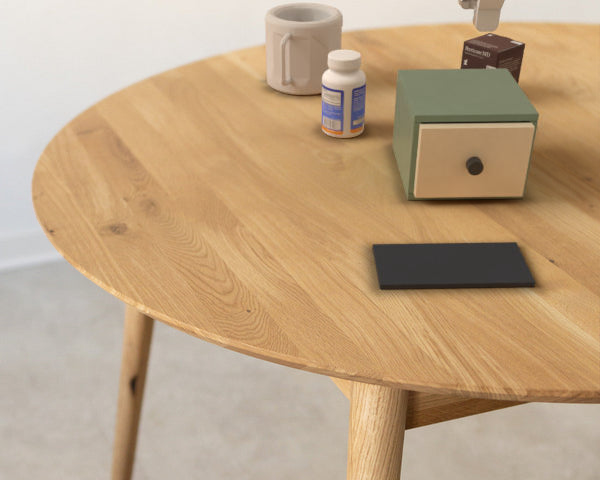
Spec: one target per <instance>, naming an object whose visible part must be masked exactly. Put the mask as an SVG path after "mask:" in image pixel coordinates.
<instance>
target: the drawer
mask: <svg viewBox="0 0 600 480" xmlns="http://www.w3.org/2000/svg"><path fill="white" fill-rule="evenodd" d="M421 123H422V124H420V127H419V138H418V149H417V160H416V171H415V182H414V196H415V198H442V197H516V196H523V190H524V185H525V179H526V174H527V168H528V163H529V157H530V152H531V146H532V141H533V135H534V130H535V127H534V125H533V124H532V123H521V121H492V122H421Z"/></svg>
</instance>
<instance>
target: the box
mask: <svg viewBox="0 0 600 480" xmlns="http://www.w3.org/2000/svg"><path fill="white" fill-rule="evenodd" d="M525 48H526V43H525V42H522V41H518V40H515V39H513V38H511V37H508V36H504V35H499V34H496V33H493V32H487V33H485V34H483V35H479V36H476V37H473V38H470V39H467V40H464V41H463V47H462V54H461V62H460V68H459V69H508V71H509V72H510V74H511V75H512V76H513V78H514V79H515V81H516V82H517V83H518V84H519V82H520V81H519V80H520V76H521V70H522V65H523V59H524V55H525Z"/></svg>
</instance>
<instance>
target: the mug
mask: <svg viewBox="0 0 600 480" xmlns="http://www.w3.org/2000/svg"><path fill="white" fill-rule="evenodd" d="M343 21H344V16H343V13H342V11H341V10H339V9H338V8H336V7H333V6H332V5H327V4H323V3H315V2H293V3H285V4H280V5H277V6H274V7H272V8H270V9H269V10H267V11H266V13H265V15H264V29H265V31H264V32H265V64H266V65H265V67H266V68H265V69H266V71H265V73H266V82H267V84H268V85H269V87H271V88H272V89H273V90H275V91H277V92H280V93H283V94H288V95H294V96H295V95H297V96H311V95H312V96H313V95H319V94H322V76H323V74H324V72H325V71H326V70H328V69H330V68H329V67H328V64H327V63H328V54H329V53H330V52H332V51H335V50H342V35H343V27H344V26H343V25H344V24H343V23H344V22H343Z"/></svg>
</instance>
